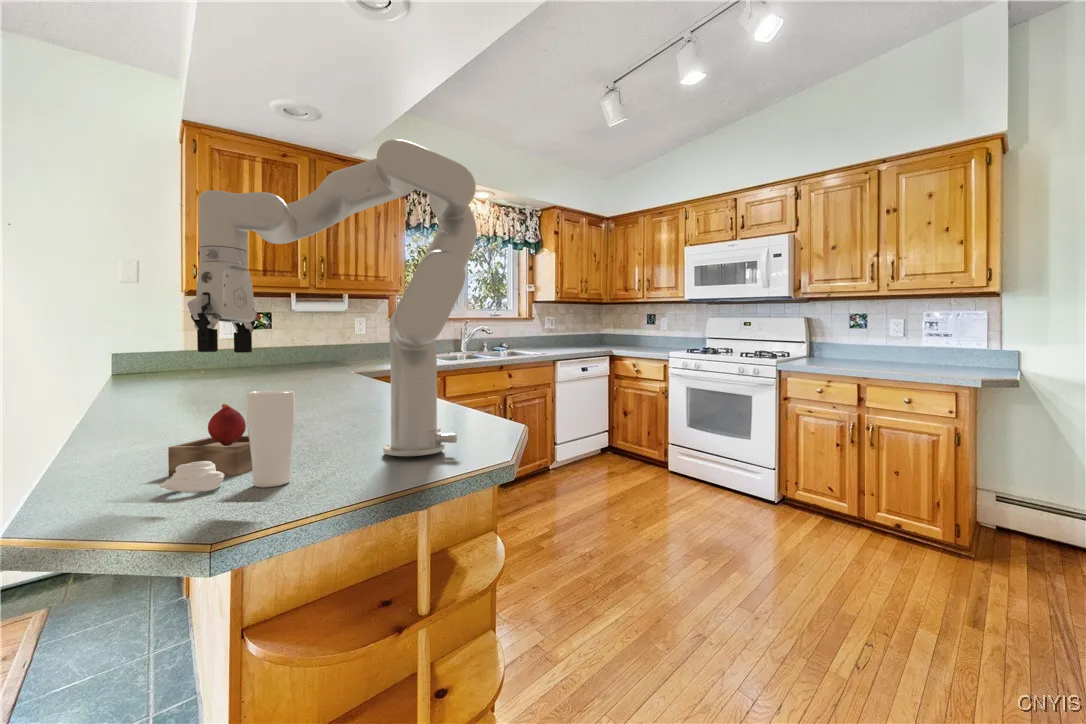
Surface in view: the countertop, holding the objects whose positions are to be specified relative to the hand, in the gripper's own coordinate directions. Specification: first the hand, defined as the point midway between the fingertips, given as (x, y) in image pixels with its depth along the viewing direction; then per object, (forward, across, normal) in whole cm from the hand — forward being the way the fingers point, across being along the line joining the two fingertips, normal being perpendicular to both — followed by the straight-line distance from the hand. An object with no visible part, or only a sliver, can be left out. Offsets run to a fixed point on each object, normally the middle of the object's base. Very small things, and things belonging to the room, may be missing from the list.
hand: (226, 352), depth 87 cm
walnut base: (+22, 0, 0) cm, 22 cm away
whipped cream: (+22, -16, -5) cm, 28 cm away
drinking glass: (+22, -12, -15) cm, 29 cm away
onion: (+18, 0, 0) cm, 18 cm away
